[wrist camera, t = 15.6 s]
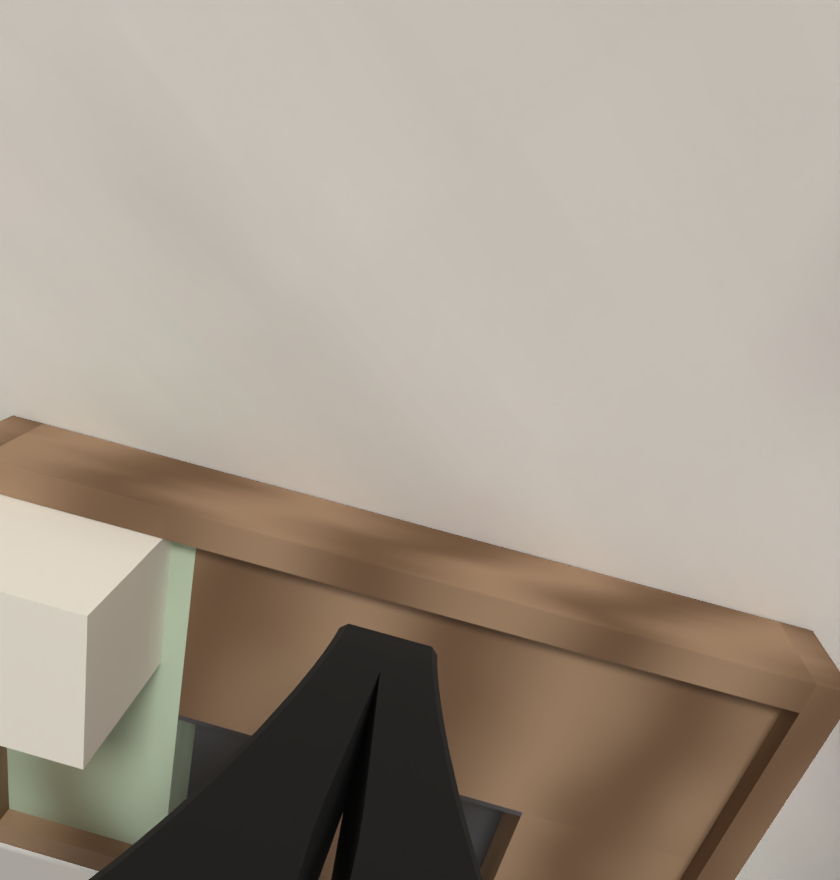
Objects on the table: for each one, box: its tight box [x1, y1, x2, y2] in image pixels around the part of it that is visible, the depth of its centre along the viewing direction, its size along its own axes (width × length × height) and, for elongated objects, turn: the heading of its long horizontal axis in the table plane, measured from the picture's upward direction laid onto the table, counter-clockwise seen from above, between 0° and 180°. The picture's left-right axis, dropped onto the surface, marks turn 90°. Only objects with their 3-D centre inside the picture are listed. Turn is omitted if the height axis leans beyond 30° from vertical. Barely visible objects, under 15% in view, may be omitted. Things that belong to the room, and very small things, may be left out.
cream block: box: [0, 494, 171, 769], centre depth 18 cm, size 5×5×4 cm
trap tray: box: [0, 416, 840, 880], centre depth 22 cm, size 25×16×3 cm, turn 77°
